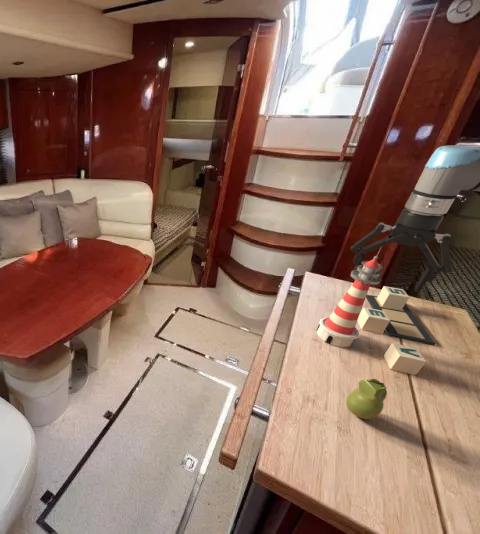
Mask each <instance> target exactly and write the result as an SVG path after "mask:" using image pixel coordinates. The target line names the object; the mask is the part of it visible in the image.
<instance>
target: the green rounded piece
mask: <svg viewBox="0 0 480 534" xmlns="http://www.w3.org/2000/svg"><path fill="white" fill-rule="evenodd" d="M357 383H358V388H356V389H354V390H353V391H351V392H350V393H349V394H348V395H347V397H346V400H345V404H346V407H347V409H348V410H349V412H351V413H352V414H353V415H354V416H356V417H358V418H360V419H365V420H369V419H374V418H376V417H378V416H379V415H380V414H381V413H382V411H383V409H384V401H385V399H386V398H387V393H388V391H387V386H386V385H385V383H384V382H381V381H380V380H378V379H377V378H370V379H361V380H358V382H357Z"/></svg>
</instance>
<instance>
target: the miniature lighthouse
mask: <svg viewBox="0 0 480 534" xmlns="http://www.w3.org/2000/svg"><path fill="white" fill-rule="evenodd" d="M382 248H383V246H382V247H380V248H379V251H378V252H377V254H376V255H375V256H373V258H372V259H371V260H363V262H362V264H361V265H359V266H358V268H357V270H354V269H353V270H352V271H351V273H350V277H351V278H352V279H353V280H354V282H353V283H352V284H351V285H350V287H349V289H348V290H347V292H346V293H345V294H344V295H343V297H342V298H341V300H340V301H339V302H338V304H337V305H336V307H335V308H334V310H333V311H332V312H331V314H330V315H329V316H325V317H322V318H320V319H319V322H318V323H319V324H318V325H317V327H316V334H317V336H318V337H319V338H320V339H321V340H322V341H324V342H325V343H326V344H328V345H331V346H335V347H338V348H348V347H351V346H352V345H353V343H354V341H355V340H356V339H357V338H359V336H360V332H359V330H358V328H357V327H356V325H357V323H358V321H357V320H358V318H359V315H360V312H361V311H362V309H363V307H364V304H365V300H366V299H367V298H366V295H368V293H369V289H370V287H371V285H373V286H374V285H375V286H376V285H380V283H381V282H382V280H383V279H382V277H381V275H382V274H383V272H382V271H381V270H382V269H383V268H384V267H383V265H382V264H380V263H379V262H378V259H379V256H378V255H379V254H380V251H381V250H382ZM354 271H355V272H354ZM356 271H357V272H356Z"/></svg>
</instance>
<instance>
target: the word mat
mask: <svg viewBox="0 0 480 534" xmlns="http://www.w3.org/2000/svg"><path fill="white" fill-rule="evenodd" d="M377 297H378V295H371V294H367V295H366V298H365V299H366V300H367V302H368V304H369V305H370V307H371V309H376V310H381V311H384V312H385V314H386V315H387V317H388V318H389V320H390V322H389V324H388V325H387V327H386V328H385V330H384V331H386V333H387V335H388V336H389V337H390V338H391V337H392V338H396V339H401V340H406V341H410V342H415V343H420V344H426V345H429V346H436V344H437V343H436V342H435V340H434V339H433V338H432V337H431V335H430V334H429V333H428V331H427V330H426V329H425V327H424V326H423V325H422V323H421V322H420V321H419V319H418V318H417V317H416V316H415V315H414V313H413V312H412V311H411V309H410V308H409V306H407V303H406V304H405V305H404V307H403V308H402V310H400V309H395V308H390V307H384V306H382V305H381V304H380V302H379V300H378V299H377Z"/></svg>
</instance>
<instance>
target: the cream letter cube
mask: <svg viewBox="0 0 480 534" xmlns="http://www.w3.org/2000/svg"><path fill="white" fill-rule="evenodd" d="M382 358H384V360H385V362H386V364H387V366H388V368H389V369H390V370H392V371H395V372H400V373H404V374H407V375H412V376H417V374H418V373H419V371H421V369H422V368H423V366H425V364H426V362H427V361H426V360H425V358H424V356H423V355H422V354H421V352H420V351H419V349H418V348H417V347H413V346H409V345H405V344H400V343H394V342H391V344H390V346H388V348H387V350H386V351H385V353H384V355H383V357H382Z"/></svg>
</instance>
